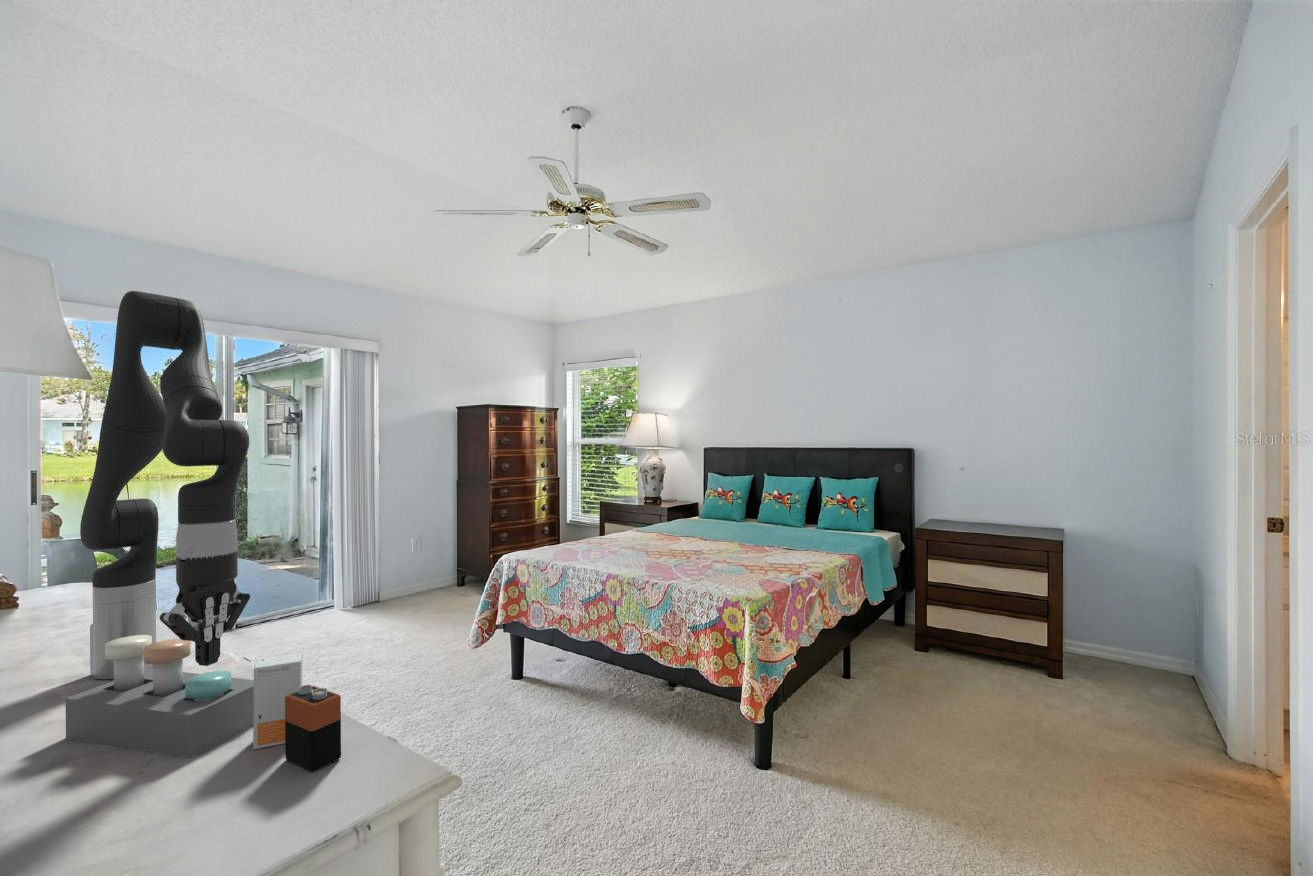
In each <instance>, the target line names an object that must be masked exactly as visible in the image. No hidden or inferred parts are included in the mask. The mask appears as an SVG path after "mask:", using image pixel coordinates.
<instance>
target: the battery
mask: <svg viewBox="0 0 1313 876" xmlns="http://www.w3.org/2000/svg"><path fill="white" fill-rule="evenodd" d="M341 699H342V698H341V695H340V694H338V693H336V692H333V691H330V690H328V688H327V687H318V686H317V685H313V686H312V684H305V685H302V686H301V687H300V688H299V691H298V692H295V693H292V694H290V695H287V696H286V697H285V743H284V744H285V745H284V747H285V748H284V750H285V754H284V755H285V760H286V761H288V762H290V763H292V764H295V765H297V766H299V767H301V768H303V769H305V770H307V771H310V772H316V771H317V770H319V769H321V768H324V767H326V766H327V765H330V764H332V763H334V762H336V761H339V760H340V759H341V758H342V757H341V756H342V712H341V711H342V709H341V707H342V704H341V703H342V700H341ZM339 758H340V759H339ZM335 760H336V761H335Z"/></svg>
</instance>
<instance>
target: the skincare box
mask: <svg viewBox="0 0 1313 876" xmlns="http://www.w3.org/2000/svg"><path fill="white" fill-rule="evenodd" d="M303 657H304V654H303V653H302V652H299V653H293V654H283V655H282V654H281V655H276V656H273V657H265V658H258V659H256V661H255V665H254V668H253V680H254V716H253V725H252V726H253V732H252V733H253V737H252V738H253V740H252V741H253V745H252V747H253V750H258V749H263V748H268V747H273V746H279V745H284V744H285V697H286V696H287V695H290V694H292V693H295V692H298V691H299V688H300V687H301V686H303V667H304V666H303Z"/></svg>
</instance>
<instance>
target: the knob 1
mask: <svg viewBox="0 0 1313 876" xmlns="http://www.w3.org/2000/svg"><path fill="white" fill-rule="evenodd" d="M150 644H152V636H150V635H135V636H128V637H123V638H119V639H115V640H112V641H109V642H107V643H106V644H105V659H108V660H114V679H113V681H114V691H119V692H126V691H128V690H131V689H134V688H136V687H139V686H142V685H144V648H145V647H146V646H148V645H150Z"/></svg>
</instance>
